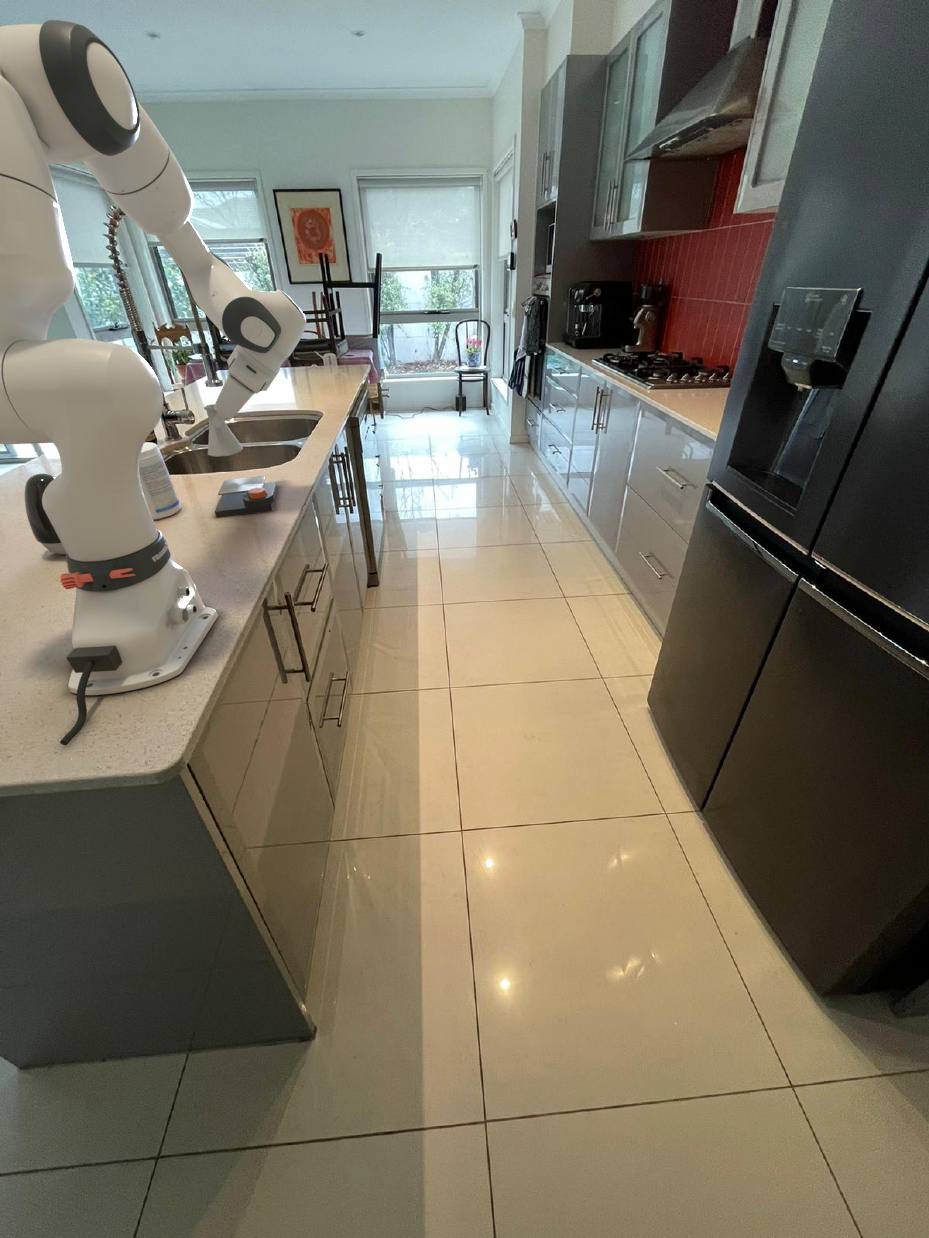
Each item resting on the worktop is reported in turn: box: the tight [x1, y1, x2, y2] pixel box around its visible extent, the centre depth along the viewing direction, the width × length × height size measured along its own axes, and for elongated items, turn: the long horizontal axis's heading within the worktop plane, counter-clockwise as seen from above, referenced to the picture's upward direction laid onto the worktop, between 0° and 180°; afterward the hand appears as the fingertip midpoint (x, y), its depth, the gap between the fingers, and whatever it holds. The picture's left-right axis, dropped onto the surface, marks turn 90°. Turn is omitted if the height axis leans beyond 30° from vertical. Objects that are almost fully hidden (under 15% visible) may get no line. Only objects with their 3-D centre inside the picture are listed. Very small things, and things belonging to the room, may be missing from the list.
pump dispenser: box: [24, 473, 67, 555], centre depth 99 cm, size 10×10×15 cm
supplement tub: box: [139, 441, 182, 521], centre depth 113 cm, size 10×10×15 cm
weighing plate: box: [217, 475, 266, 496], centre depth 122 cm, size 10×10×1 cm
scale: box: [214, 481, 278, 518], centre depth 121 cm, size 16×13×3 cm
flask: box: [203, 403, 244, 457], centre depth 113 cm, size 7×7×10 cm
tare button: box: [248, 488, 267, 499], centre depth 116 cm, size 4×4×2 cm
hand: (216, 422), depth 112 cm, fingers closed on flask, 3 cm apart
